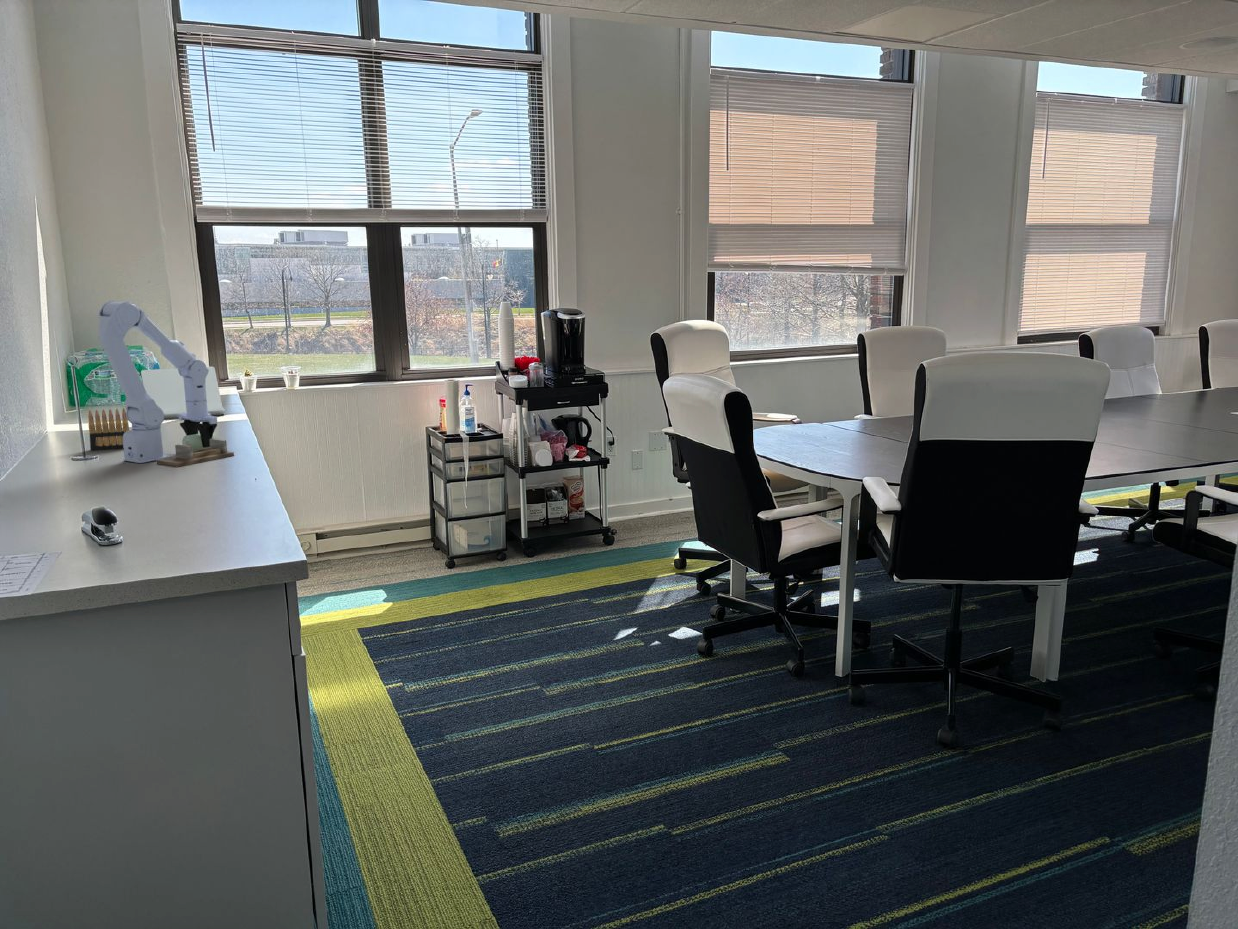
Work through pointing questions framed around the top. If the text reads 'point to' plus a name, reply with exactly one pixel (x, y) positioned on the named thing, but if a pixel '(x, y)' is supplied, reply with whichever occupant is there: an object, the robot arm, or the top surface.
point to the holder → (197, 454)
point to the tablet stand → (178, 391)
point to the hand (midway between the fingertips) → (200, 446)
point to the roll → (195, 441)
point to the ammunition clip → (107, 430)
